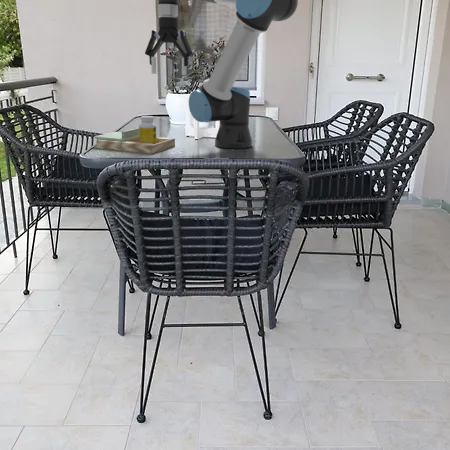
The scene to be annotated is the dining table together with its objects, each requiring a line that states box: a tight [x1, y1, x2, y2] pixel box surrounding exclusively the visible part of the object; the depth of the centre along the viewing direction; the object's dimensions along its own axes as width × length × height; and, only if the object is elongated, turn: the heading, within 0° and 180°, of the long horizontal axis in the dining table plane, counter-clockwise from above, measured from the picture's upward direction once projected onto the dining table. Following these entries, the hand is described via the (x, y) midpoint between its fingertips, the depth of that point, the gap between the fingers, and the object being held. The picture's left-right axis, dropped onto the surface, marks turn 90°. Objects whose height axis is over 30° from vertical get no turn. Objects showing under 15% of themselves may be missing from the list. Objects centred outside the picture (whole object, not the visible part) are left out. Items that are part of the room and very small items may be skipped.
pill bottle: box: [138, 115, 157, 144], centre depth 181 cm, size 6×6×12 cm
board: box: [95, 136, 176, 155], centre depth 185 cm, size 24×18×3 cm
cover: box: [93, 127, 139, 141], centre depth 186 cm, size 13×14×3 cm
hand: (168, 74), depth 193 cm, fingers open, 13 cm apart
